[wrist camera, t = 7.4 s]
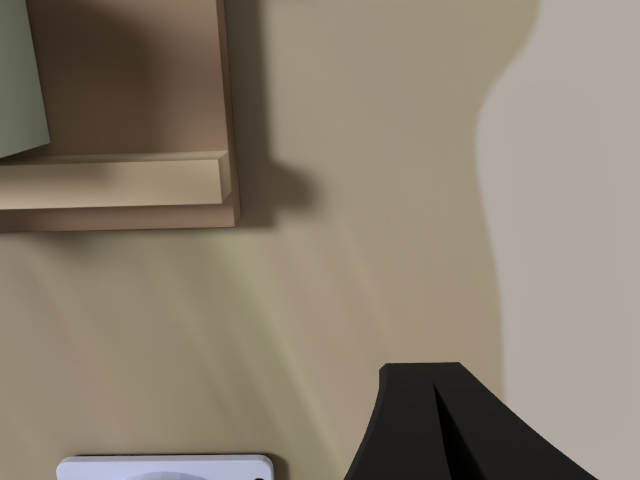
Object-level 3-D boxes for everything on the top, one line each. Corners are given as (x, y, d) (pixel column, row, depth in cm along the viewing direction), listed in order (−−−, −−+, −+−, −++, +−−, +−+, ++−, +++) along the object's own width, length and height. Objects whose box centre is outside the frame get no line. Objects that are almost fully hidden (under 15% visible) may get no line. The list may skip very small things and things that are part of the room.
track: (240, 215, 18) (205, 274, 14) (-76, 224, 19) (-223, 284, 14) (212, -143, 15) (153, -236, 10) (-165, -124, 16) (-394, -205, 11)
